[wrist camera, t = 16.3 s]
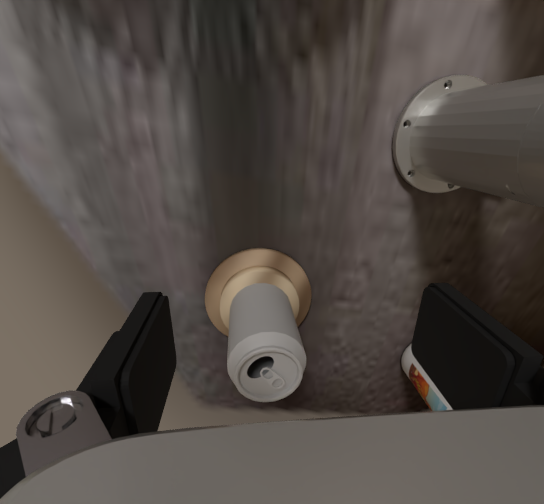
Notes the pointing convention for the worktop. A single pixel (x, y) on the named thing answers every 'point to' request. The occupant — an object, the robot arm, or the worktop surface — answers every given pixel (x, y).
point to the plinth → (251, 270)
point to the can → (264, 344)
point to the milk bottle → (423, 382)
